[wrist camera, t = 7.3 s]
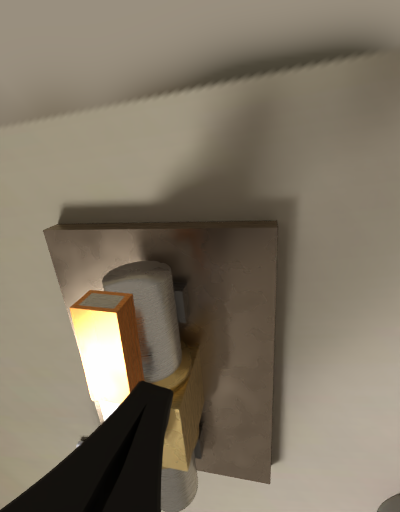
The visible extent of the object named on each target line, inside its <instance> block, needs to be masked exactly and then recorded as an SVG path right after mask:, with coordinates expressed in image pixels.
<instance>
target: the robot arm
mask: <svg viewBox="0 0 400 512" xmlns="http://www.w3.org/2000/svg"><path fill="white" fill-rule="evenodd" d="M173 394H174V392H173V391H172V390H171V389H167V388H164V387H161V386H158V385H155V384H152V383H148V382H145V381H139V382H138V383H137V385H136V386H135V387H134V389H133V390H132V391H131V392H130V394H129V395H128V396H127V397H126V398H125V399H124V401H123V402H122V403H121V404H120V405H119V406H118V407H117V408H116V409H115V411H114V412H113V413H112V414H111V415H110V416H109V417H108V418H107V419H106V420H105V421H104V422H103V423H102V424H101V425H100V426H99V427H98V428H97V429H96V430H95V431H94V432H93V433H92V434H91V435H90V436H89V437H88V438H87V439H86V440H85V441H79V442H78V444H77V448H76V449H75V450H74V451H73V452H72V453H71V454H70V455H68V456H67V457H66V458H65V459H64V460H63V461H62V462H60V463H59V464H58V465H57V466H56V467H55V468H53V469H52V470H51V471H50V472H49V473H47V474H46V475H45V476H44V477H43V478H41V479H40V480H39V481H37V482H36V483H35V484H34V485H32V486H31V487H30V488H29V489H27V490H26V491H25V492H24V493H22V494H21V495H20V496H18V497H17V498H16V499H14V500H13V501H12V502H10V503H9V504H8V505H6V506H5V507H4V508H2V509H1V510H0V512H161V478H162V458H163V446H164V437H165V433H166V429H167V426H168V422H169V416H170V411H171V405H172V400H173Z"/></svg>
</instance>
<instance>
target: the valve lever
mask: <svg viewBox="0 0 400 512" xmlns="http://www.w3.org/2000/svg"><path fill="white" fill-rule="evenodd" d="M70 313H71V317H72V321H73V325H74V329H75V333H76V337H77V341H78V346H79V350H80V354H81V358H82V362H83V366H84V370H85V375H86V379H87V383H88V387H89V391H90V395H91V399H92V400H96V401H100V402H101V407H102V411H103V416H104V420H106V419H107V418H108V417H109V416H110V415H111V414H112V413H113V412H114V411H115V409H116V408H117V407H118V406H119V405H120V404H121V403H122V402H123V401H124V399H125V398H126V397H127V396H128V395H129V394H130V392H131V391H132V390H133V389H134V387H135V386H136V385H137V383H138V382H139V381H144V373H143V366H142V359H141V351H140V344H139V337H138V329H137V322H136V315H135V307H134V300H133V294H129V293H119V292H108V291H98V290H89V291H88V292H87V293H86V294H85V295H84V296H82V297H81V298H80V299H79V300H78V301H77V302H75V303H74V304H73V305H72V306H71V307H70Z"/></svg>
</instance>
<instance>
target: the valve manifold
mask: <svg viewBox="0 0 400 512" xmlns="http://www.w3.org/2000/svg"><path fill="white" fill-rule="evenodd" d="M43 232H44V235H45V238H46V242H47V245H48V248H49V252H50V255H51V258H52V262H53V265H54V268H55V272H56V275H57V278H58V282H59V285H60V288H61V292H62V295H63V298H64V302H65V305H66V308H67V312H68V315H69V318H70V322H71V325H72V328H73V332H74V335H75V338H76V342H77V345H78V341H77V337H76V333H75V329H74V325H73V321H72V317H71V313H70V307H71V306H72V305H73V304H74V303H75V302H77V301H78V300H79V299H80V298H81V297H82V296H84V295H85V294H86V293H87V292H88V291H89V290H98V291H108V292H119V293H129V294H133V300H134V307H135V315H136V322H137V329H138V337H139V344H140V351H141V359H142V366H143V373H144V381H145V382H148V383H152V384H155V385H158V386H161V387H164V388H167V389H171V390H172V391H173V392H174V394H173V400H172V405H171V411H170V416H169V422H168V426H167V429H166V433H165V437H164V446H163V458H162V478H161V510H163V511H165V512H179V511H181V510H183V509H185V508H186V507H187V506H188V505H189V504H190V503H191V502H192V501H193V499H194V497H195V495H196V492H197V488H198V477H197V470H198V471H204V472H209V473H214V474H219V475H225V476H230V477H235V478H240V479H245V480H251V481H256V482H261V483H266V484H270V474H271V440H272V406H273V372H274V338H275V304H276V270H277V235H278V226H277V221H226V222H165V223H104V224H57V225H54V226H52V227H50V228H47V229H45V230H43ZM78 348H79V346H78ZM79 352H80V350H79ZM80 355H81V354H80ZM81 359H82V358H81ZM94 402H95V405H96V409H97V412H98V415H99V419H100V422H101V424H102V423H103V422H104V421H105V420H104V416H103V411H102V407H101V402H100V401H96V400H94Z"/></svg>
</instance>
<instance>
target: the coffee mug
mask: <svg viewBox="0 0 400 512" xmlns="http://www.w3.org/2000/svg"><path fill="white" fill-rule="evenodd" d="M377 512H400V494H398V495H395V496H393V497H391V498H390V499H388V500H386V501H385V502H384V503H383V504H382V505H381V506H380V507H379V509H378V511H377Z"/></svg>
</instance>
